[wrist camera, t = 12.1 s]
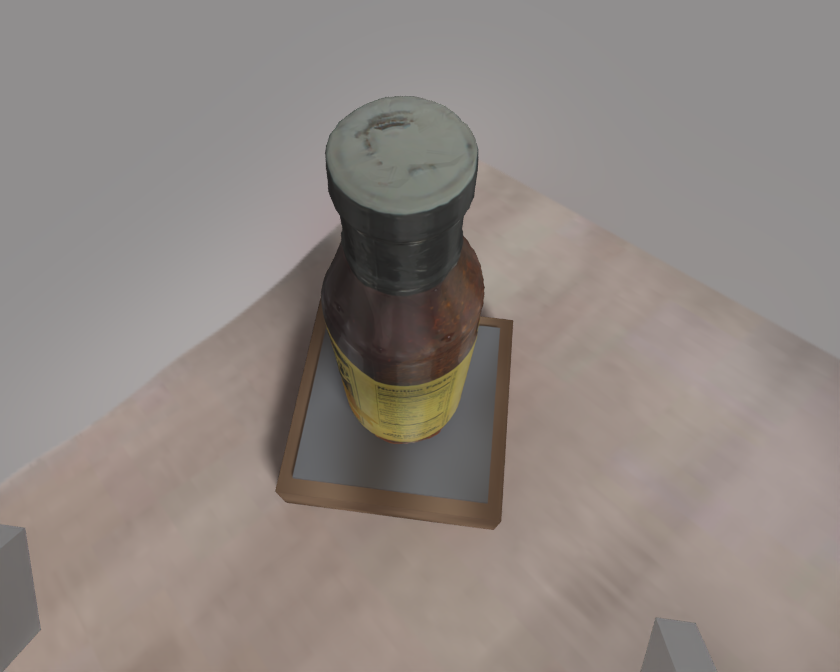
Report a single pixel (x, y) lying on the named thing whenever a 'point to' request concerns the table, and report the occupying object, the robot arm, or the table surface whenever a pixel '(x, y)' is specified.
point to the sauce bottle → (402, 264)
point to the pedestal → (402, 463)
